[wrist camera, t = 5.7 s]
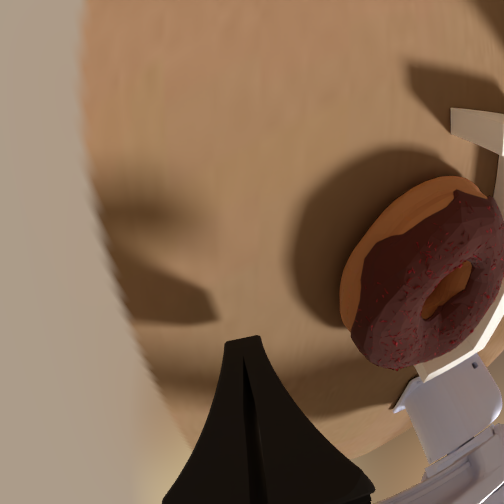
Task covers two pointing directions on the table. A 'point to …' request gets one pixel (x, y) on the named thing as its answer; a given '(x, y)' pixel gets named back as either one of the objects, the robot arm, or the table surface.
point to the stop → (500, 142)
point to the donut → (424, 273)
